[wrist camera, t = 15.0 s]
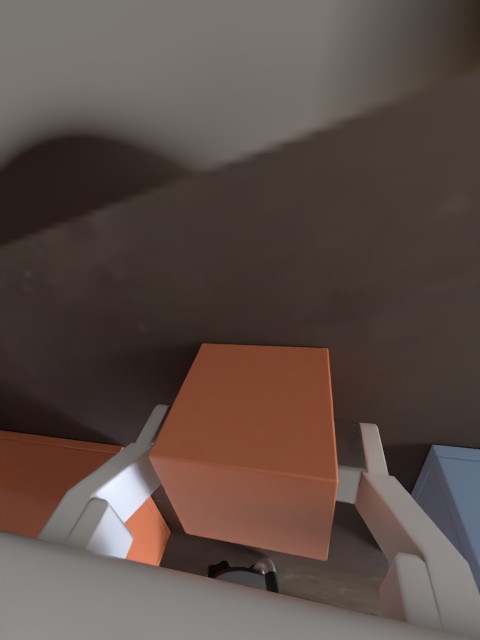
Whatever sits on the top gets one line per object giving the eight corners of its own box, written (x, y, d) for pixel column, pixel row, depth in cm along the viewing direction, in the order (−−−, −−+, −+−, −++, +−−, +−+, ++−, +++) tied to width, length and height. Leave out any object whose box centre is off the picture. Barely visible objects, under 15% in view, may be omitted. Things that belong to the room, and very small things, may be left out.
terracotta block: (202, 342, 11) (146, 456, 7) (328, 347, 10) (338, 482, 6) (219, 420, 13) (185, 533, 10) (322, 430, 12) (327, 561, 9)
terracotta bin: (-30, 426, 19) (-161, 544, 14) (123, 445, 16) (34, 600, 11) (51, 507, 25) (-18, 611, 20) (170, 531, 22) (128, 657, 17)
